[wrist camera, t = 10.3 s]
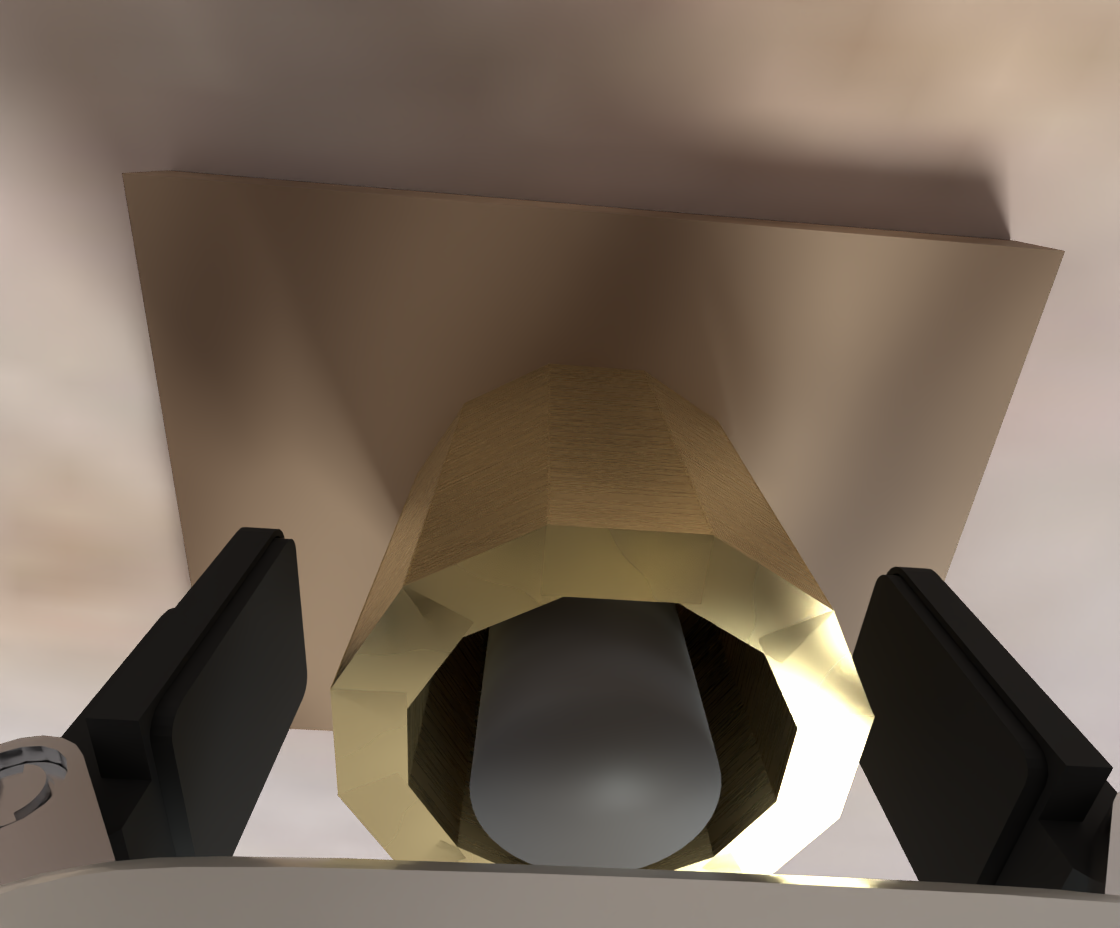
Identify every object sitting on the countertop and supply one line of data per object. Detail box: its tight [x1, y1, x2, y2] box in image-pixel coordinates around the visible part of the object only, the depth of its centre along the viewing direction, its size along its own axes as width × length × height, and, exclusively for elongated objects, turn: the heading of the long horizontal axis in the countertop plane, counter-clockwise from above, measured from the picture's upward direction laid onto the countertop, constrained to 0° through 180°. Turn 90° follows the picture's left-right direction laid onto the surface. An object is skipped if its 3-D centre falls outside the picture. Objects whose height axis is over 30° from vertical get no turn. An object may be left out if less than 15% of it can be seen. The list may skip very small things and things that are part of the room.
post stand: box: [122, 170, 1065, 869], centre depth 12 cm, size 16×12×8 cm
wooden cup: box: [330, 363, 875, 874], centre depth 11 cm, size 7×7×6 cm
